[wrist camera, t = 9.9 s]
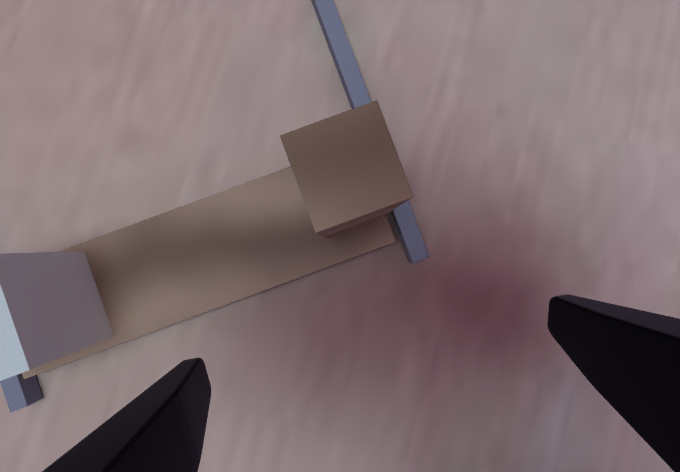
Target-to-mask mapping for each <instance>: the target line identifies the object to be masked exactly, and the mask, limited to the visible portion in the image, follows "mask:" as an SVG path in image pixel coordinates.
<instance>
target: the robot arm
mask: <svg viewBox="0 0 680 472" xmlns="http://www.w3.org/2000/svg"><path fill="white" fill-rule="evenodd" d="M548 329H549V331H550V333H551V335H552V336H553V337H554V339H555V340H556V341H557V342H558V344H559V345H560V346H561V347H562V349H563V350H564V351H565V352H566V354H567V355H568V356H569V357H570V359H571V360H572V361H573V362H574V364H575V365H576V366H577V367H578V368H579V370H580V371H581V372H582V373H583V375H584V376H585V377H586V378H587V380H588V381H589V382H590V383H591V384H592V385H593V386H594V388H595V389H596V390H597V391H598V392H599V393H600V394H601V395H602V396H603V397H604V398H605V399H606V400H607V401H608V402H609V403H610V405H611V406H612V407H613V408H614V409H615V410H616V411H617V412H618V413H619V414H620V415H621V416H622V417H623V418H624V419H625V420H626V421H627V422H628V423H629V424H630V426H631V427H632V428H633V429H634V430H635V431H636V432H637V433H638V434H639V435H640V436H641V437H642V438H643V439H644V440H645V441H646V442H647V443H648V444H649V445H650V447H651V448H652V449H653V450H654V451H655V452H656V453H657V454H658V455H659V456H660V457H661V458H662V459H663V460H664V461H665V462H666V463H667V464H668V465H669V466H670V468H671V469H672V470H673V471H674V472H680V319H678V318H673V317H669V316H664V315H660V314H655V313H651V312H646V311H641V310H637V309H632V308H628V307H623V306H619V305H614V304H609V303H605V302H600V301H596V300H591V299H587V298H582V297H578V296H573V295H560V296H555V297H552V298H551V299H550V302H549V312H548ZM210 398H211V385H210V382H209V378H208V374H207V371H206V367H205V364H204V361H203V360H202V359H201V358H194V359H188V360H184V361H182V362H181V363H180V364H178V365H177V366H176V367H175V368H173V369H172V370H171V371H169V372H168V373H167V374H166V375H164V376H163V377H162V378H161V379H159V380H158V381H157V382H155V383H154V384H153V385H152V386H150V387H149V388H148V389H147V390H145V391H144V392H143V393H141V394H140V395H139V396H138V397H136V398H135V399H134V400H133V401H131V402H130V403H129V404H127V405H126V406H125V407H124V408H122V409H121V410H120V411H119V412H117V413H116V414H115V415H113V416H112V417H111V418H110V419H108V420H107V421H106V422H105V423H103V424H102V425H101V426H99V427H98V428H97V429H96V430H94V431H93V432H92V433H91V434H89V435H88V436H87V437H85V438H84V439H83V440H82V441H80V442H79V443H78V444H77V445H75V446H74V447H73V448H71V449H70V450H69V451H68V452H66V453H65V454H64V455H63V456H61V457H60V458H59V459H57V460H56V461H55V462H54V463H52V464H51V465H50V466H49V467H47V468H46V469H45V470H43V471H42V472H198V467H199V463H200V459H201V454H202V448H203V442H204V436H205V429H206V423H207V417H208V411H209V405H210Z"/></svg>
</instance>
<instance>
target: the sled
mask: <svg viewBox="0 0 680 472" xmlns="http://www.w3.org/2000/svg"><path fill="white" fill-rule="evenodd" d="M280 137H281V140H282V143H283V146H284V148H285V151H286V154H287V156H288V159H289V162H290V165H291V167H288V168H285V169H283V170H280V171H277V172H275V173H272V174H269V175H266V176H264V177H261V178H258V179H256V180H253V181H250V182H247V183H245V184H242V185H239V186H236V187H234V188H231V189H228V190H226V191H223V192H220V193H217V194H215V195H212V196H209V197H207V198H204V199H201V200H198V201H196V202H193V203H190V204H188V205H185V206H182V207H179V208H177V209H174V210H171V211H168V212H166V213H163V214H160V215H158V216H155V217H152V218H149V219H147V220H144V221H141V222H139V223H136V224H133V225H130V226H128V227H125V228H122V229H120V230H117V231H114V232H111V233H109V234H106V235H103V236H100V237H98V238H95V239H92V240H90V241H87V242H84V243H81V244H79V245H76V246H73V247H71V248H68V249H65V250H62V251H60V252H81V251H84V252H85V255H86V257H87V260H88V263H89V266H90V269H91V272H92V275H93V277H94V280H95V283H96V286H97V289H98V292H99V295H100V297H101V300H102V303H103V306H104V309H105V312H106V315H107V318H108V320H109V323H110V326H111V329H112V332H113V335H114V336H113V337H110V338H108V339H105V340H103V341H100V342H98V343H95V344H93V345H90V346H88V347H85V348H83V349H81V350H78V351H76V352H73V353H71V354H68V355H66V356H63V357H61V358H58V359H56V360H53V361H51V362H48V363H46V364H44V365H41V366H39V367H36V368H34V369H31V370H29V371H26V372H23V373H22V375H23V378H24V379H26V378H29V377H32V376H34V375H37V374H40V373H42V372H45V371H48V370H51V369H53V368H56V367H59V366H61V365H64V364H67V363H69V362H72V361H75V360H78V359H80V358H83V357H86V356H88V355H91V354H94V353H97V352H99V351H102V350H105V349H107V348H110V347H113V346H115V345H118V344H121V343H124V342H126V341H129V340H132V339H134V338H137V337H140V336H143V335H145V334H148V333H151V332H153V331H156V330H159V329H161V328H164V327H167V326H170V325H172V324H175V323H178V322H180V321H183V320H186V319H189V318H191V317H194V316H197V315H199V314H202V313H205V312H207V311H210V310H213V309H216V308H218V307H221V306H224V305H226V304H229V303H232V302H235V301H237V300H240V299H243V298H245V297H248V296H251V295H253V294H256V293H259V292H262V291H264V290H267V289H270V288H272V287H275V286H278V285H281V284H283V283H286V282H289V281H291V280H294V279H297V278H299V277H302V276H305V275H308V274H310V273H313V272H316V271H318V270H321V269H324V268H327V267H329V266H332V265H335V264H337V263H340V262H343V261H345V260H348V259H351V258H354V257H356V256H359V255H362V254H364V253H367V252H370V251H373V250H375V249H378V248H381V247H383V246H386V245H389V244H391V243H394V242H396V240H395V237H394V235H393V232H392V229H391V227H390V224H389V221H388V219H387V216H386V214H388V213H389V212H391V211H392V210H394V209H395V208H397V207H399V206H400V205H402V204H403V203H405V202H406V201H408V200H409V199H411V198H412V197H413V194H412V192H411V189H410V186H409V184H408V181H407V178H406V176H405V173H404V170H403V168H402V165H401V162H400V160H399V157H398V155H397V152H396V149H395V147H394V144H393V141H392V139H391V136H390V133H389V131H388V128H387V125H386V123H385V120H384V117H383V115H382V112H381V109H380V107H379V104H378V101H377V100H376V101H373V102H370V103H368V104H365V105H362V106H359V107H357V108H354V109H351V110H349V111H346V112H343V113H340V114H338V115H335V116H332V117H329V118H327V119H324V120H321V121H319V122H316V123H313V124H310V125H308V126H305V127H302V128H300V129H297V130H294V131H291V132H289V133H286V134H283V135H280Z"/></svg>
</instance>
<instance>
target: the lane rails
mask: <svg viewBox="0 0 680 472" xmlns="http://www.w3.org/2000/svg"><path fill="white" fill-rule="evenodd" d="M312 3H313V6H314V8H315V11H316V14H317V16H318V19H319V22H320V25H321V27H322V30H323V33H324V35H325V38H326V41H327V43H328V46H329V49H330V51H331V54H332V57H333V59H334V62H335V65H336V67H337V70H338V73H339V75H340V78H341V81H342V83H343V86H344V89H345V91H346V94H347V97H348V99H349V102H350V105H351V107H352V109H354V108H357V107H359V106H362V105H365V104H368V103H370V102H371V99H370V97H369V94H368V91H367V89H366V86H365V84H364V81H363V78H362V76H361V73H360V70H359V68H358V65H357V62H356V60H355V57H354V54H353V52H352V49H351V46H350V44H349V41H348V38H347V36H346V33H345V30H344V28H343V25H342V22H341V20H340V17H339V14H338V12H337V9H336V6H335V4H334V1H333V0H312ZM391 214H392V217H393V220H394V222H395V225H396V228H397V231H398V233H399V236H400V239H401V241H402V244H403V247H404V249H405V252H406V255H407V257H408V260H409V262H410V263H415V262H418V261H421V260H423V259H426V258H429V254H428V251H427V249H426V246H425V243H424V241H423V238H422V235H421V233H420V230H419V227H418V225H417V222H416V219H415V217H414V214H413V211H412V209H411V206H410V203H409V201H406V202H405V203H403V204H402V205H400V206H399V207H397V208H395V209H394V210H392V211H391ZM0 383H1V386H2V389H3V392H4V395H5V398H6V401H7V403H8V406H9V409H10V412H13V411H15V410H18V409H21V408H23V407H26V406H28V405H30V404H32V403H34V402H36V401H38V400H40V399H42V398H43V395H42V392H41V389H40V386H39V383H38V381H37V378H36V375H34V376H32V377H29V378H26V379H24V378H23V375H22V373H20V374H18V375H15V376H12V377H10V378H7V379H4V380H2V381H0Z"/></svg>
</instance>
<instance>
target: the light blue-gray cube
mask: <svg viewBox="0 0 680 472" xmlns="http://www.w3.org/2000/svg"><path fill="white" fill-rule="evenodd" d="M113 336H114V335H113V332H112V329H111V326H110V323H109V320H108V318H107V315H106V312H105V309H104V306H103V303H102V300H101V297H100V295H99V292H98V289H97V286H96V283H95V280H94V277H93V275H92V272H91V269H90V266H89V263H88V260H87V257H86V255H85V252H84V251H81V252H47V253H12V254H0V381H2V380H4V379H7V378H10V377H12V376H15V375H18V374H20V373H23V372H26V371H29V370H31V369H34V368H36V367H39V366H41V365H44V364H46V363H48V362H51V361H53V360H56V359H58V358H61V357H63V356H66V355H68V354H71V353H73V352H76V351H78V350H81V349H83V348H85V347H88V346H90V345H93V344H95V343H98V342H100V341H103V340H105V339H108V338H110V337H113Z"/></svg>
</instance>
